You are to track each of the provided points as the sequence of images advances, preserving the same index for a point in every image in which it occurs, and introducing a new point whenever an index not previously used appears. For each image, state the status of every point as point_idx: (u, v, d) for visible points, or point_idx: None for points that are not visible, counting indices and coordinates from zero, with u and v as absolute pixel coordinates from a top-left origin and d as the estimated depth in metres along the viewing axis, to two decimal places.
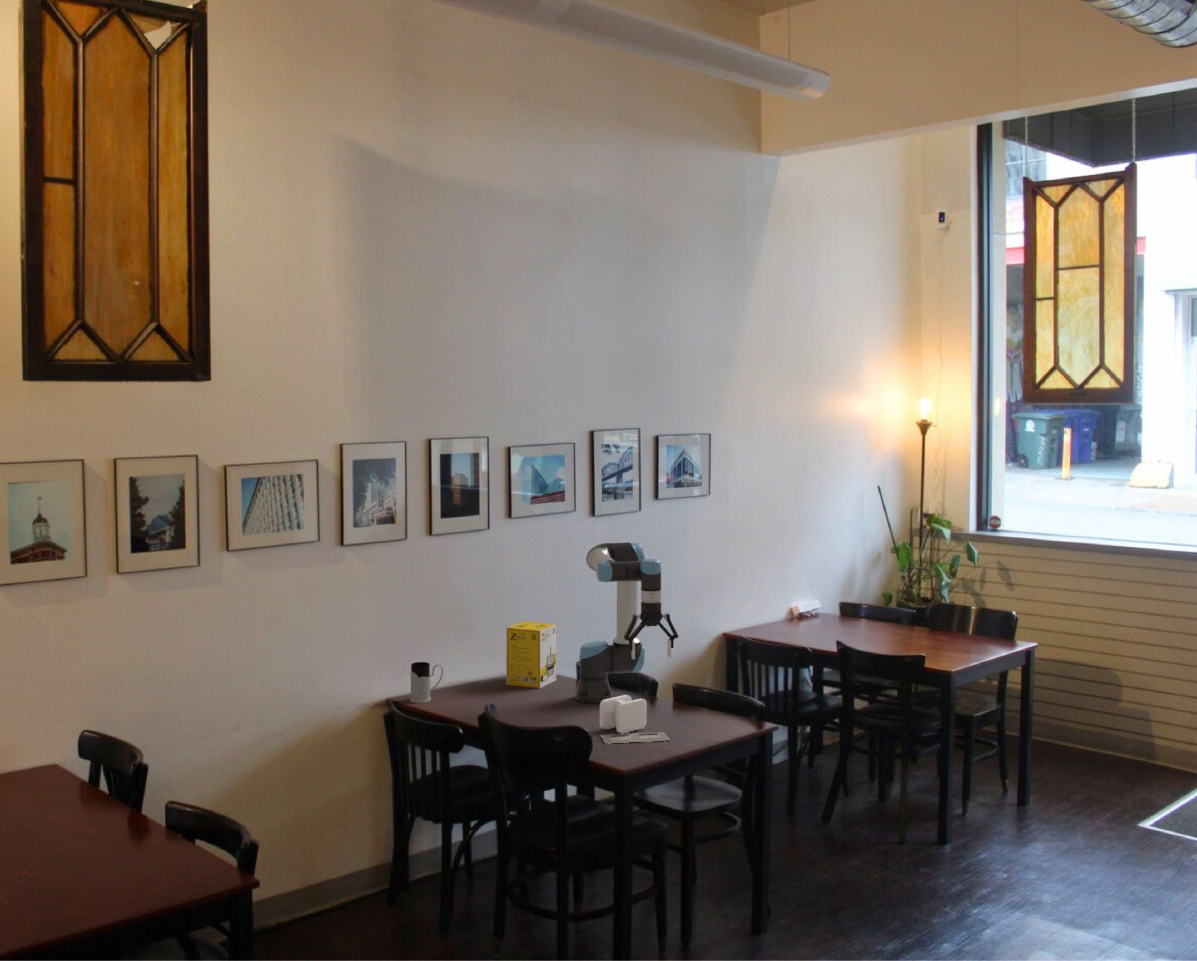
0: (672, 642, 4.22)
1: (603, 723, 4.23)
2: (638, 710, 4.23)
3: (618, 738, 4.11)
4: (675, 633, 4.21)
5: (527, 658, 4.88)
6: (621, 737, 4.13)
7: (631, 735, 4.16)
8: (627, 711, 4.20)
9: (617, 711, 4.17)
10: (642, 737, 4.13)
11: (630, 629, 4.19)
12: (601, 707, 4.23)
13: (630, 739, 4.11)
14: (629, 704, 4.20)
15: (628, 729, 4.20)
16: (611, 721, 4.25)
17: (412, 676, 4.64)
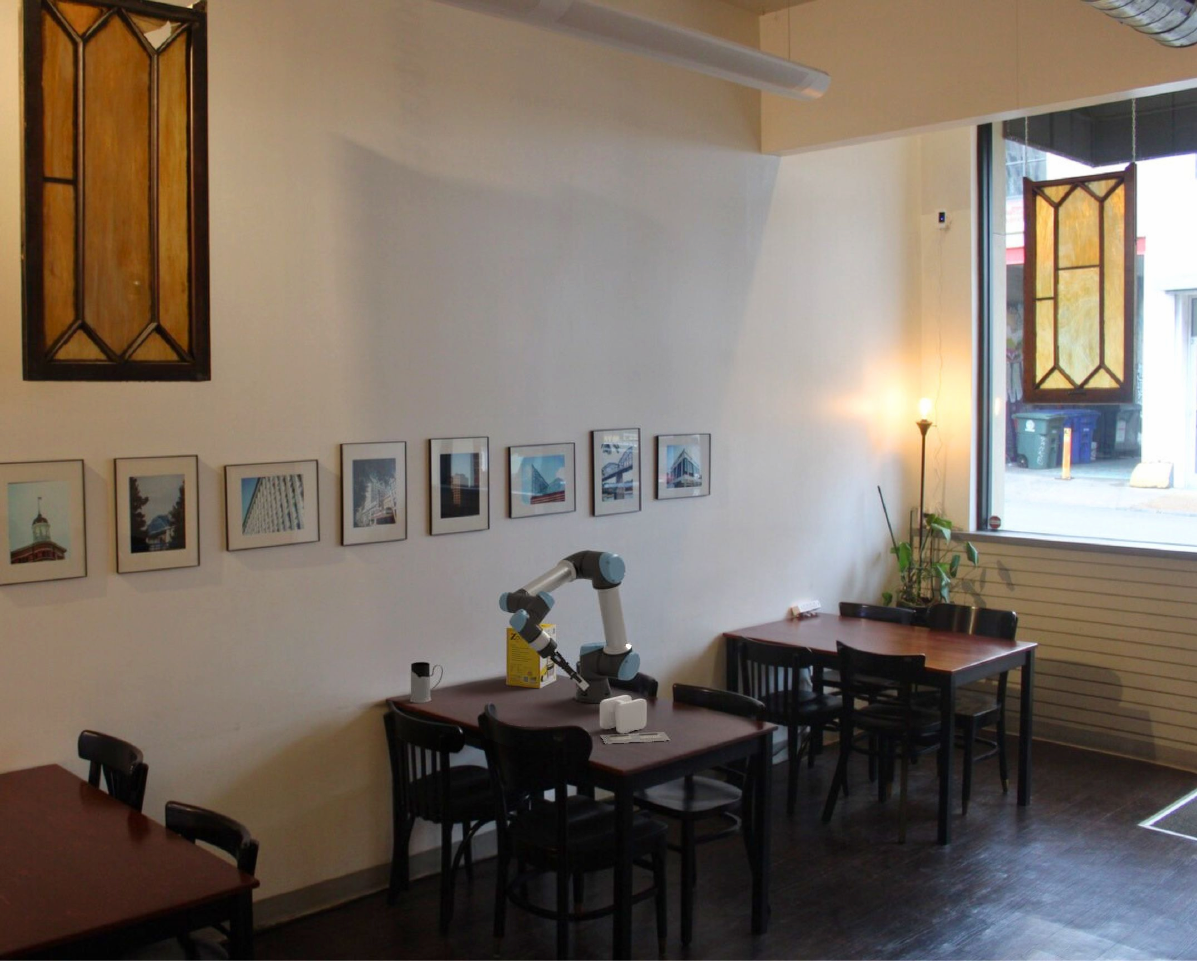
0: (575, 679, 4.12)
1: (603, 723, 4.23)
2: (638, 710, 4.23)
3: (618, 738, 4.11)
4: (568, 674, 4.10)
5: (527, 658, 4.88)
6: (621, 737, 4.13)
7: (631, 735, 4.16)
8: (627, 711, 4.20)
9: (617, 711, 4.17)
10: (642, 737, 4.13)
11: None
12: (601, 707, 4.23)
13: (630, 739, 4.11)
14: (629, 704, 4.20)
15: (628, 729, 4.20)
16: (611, 721, 4.25)
17: (412, 676, 4.64)
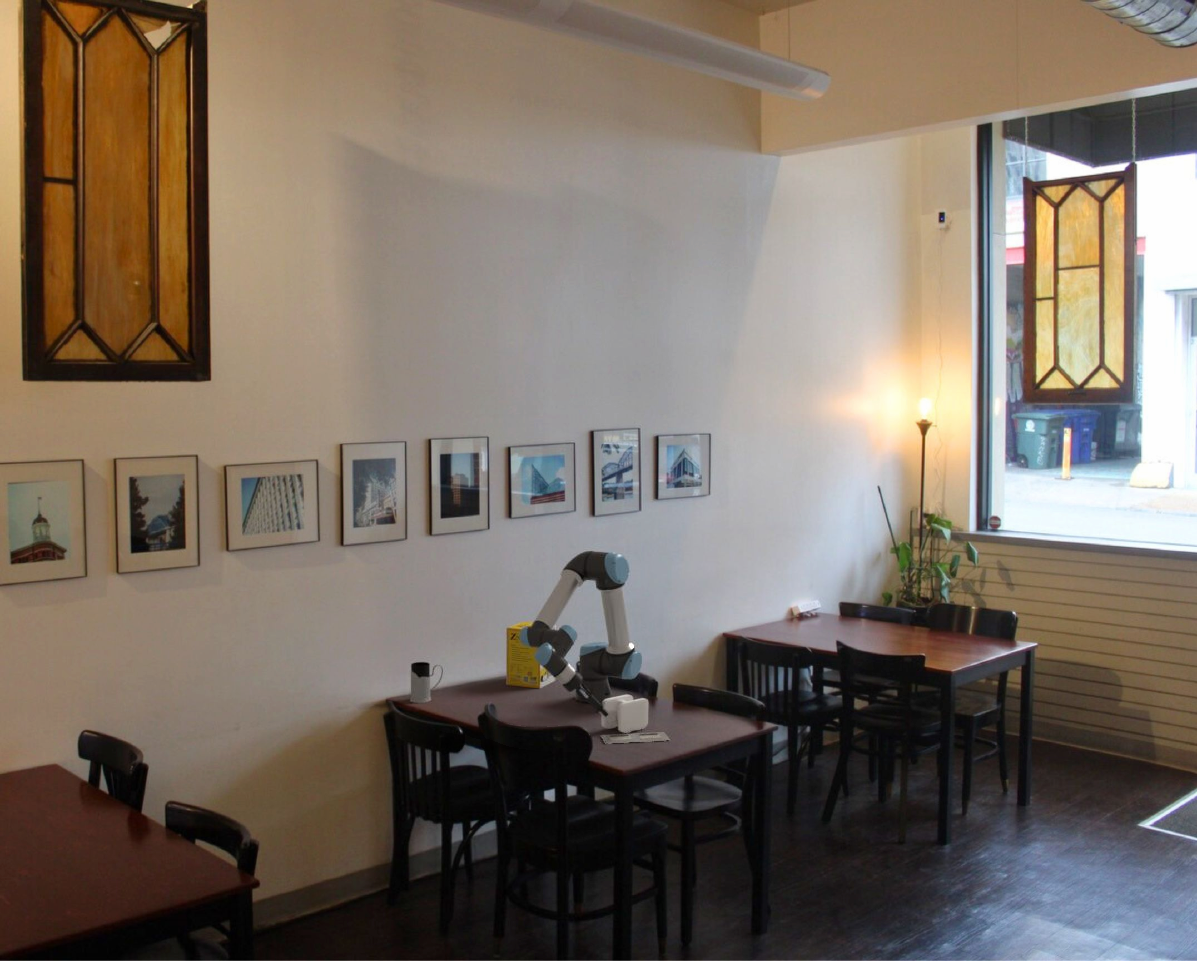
0: (601, 712, 4.21)
1: (605, 723, 4.23)
2: (640, 710, 4.23)
3: (618, 738, 4.11)
4: (595, 708, 4.19)
5: (527, 658, 4.88)
6: (621, 737, 4.13)
7: (631, 735, 4.16)
8: (629, 710, 4.20)
9: (619, 710, 4.18)
10: (642, 737, 4.13)
11: None
12: None
13: (630, 739, 4.11)
14: (631, 703, 4.20)
15: (630, 728, 4.20)
16: None
17: (412, 676, 4.64)
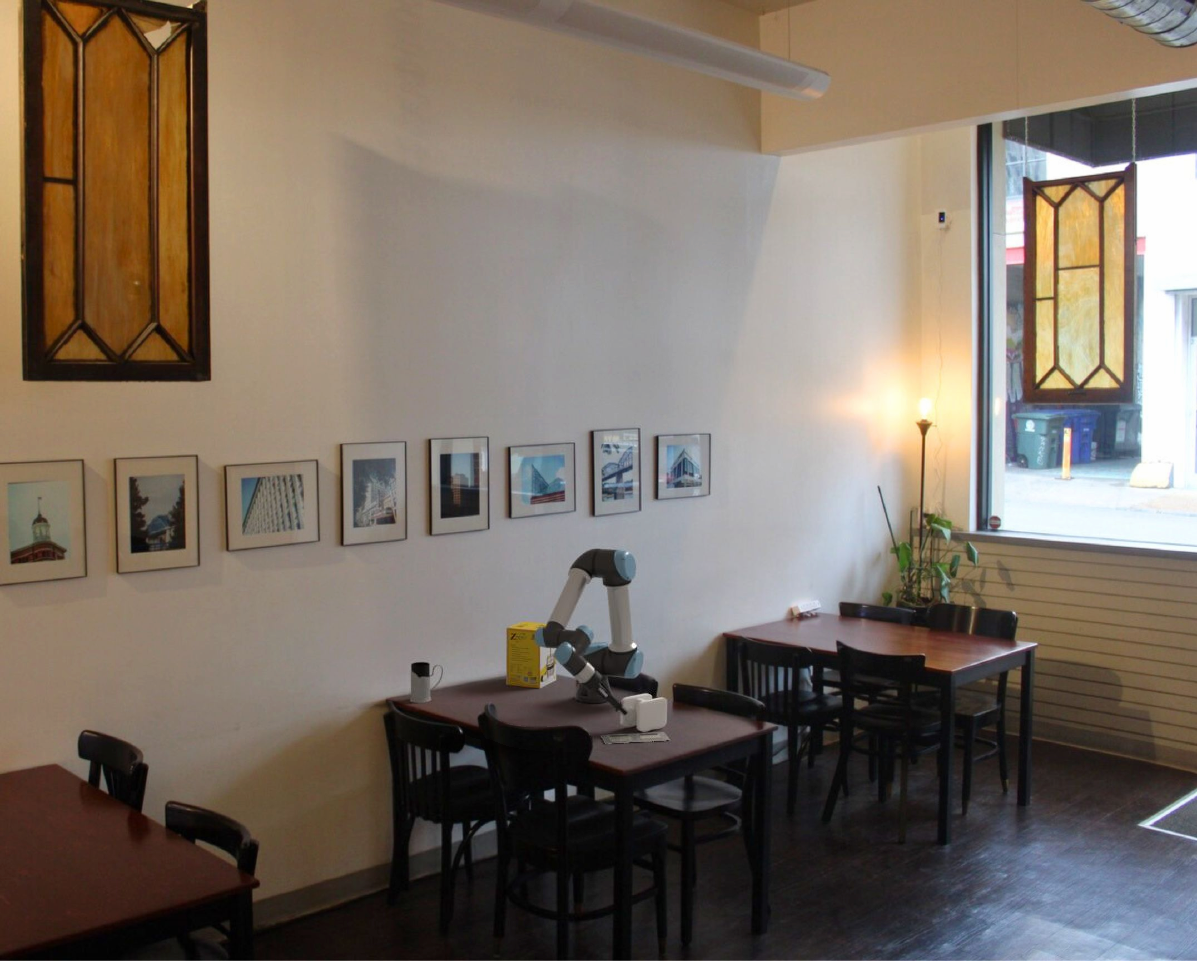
0: (621, 711, 4.23)
1: (624, 721, 4.25)
2: (658, 709, 4.25)
3: (618, 738, 4.11)
4: (614, 707, 4.20)
5: (527, 658, 4.88)
6: (621, 737, 4.13)
7: (631, 735, 4.16)
8: (648, 709, 4.21)
9: (638, 709, 4.19)
10: (642, 737, 4.13)
11: None
12: None
13: (630, 739, 4.11)
14: (650, 702, 4.22)
15: (648, 727, 4.22)
16: None
17: (412, 676, 4.64)
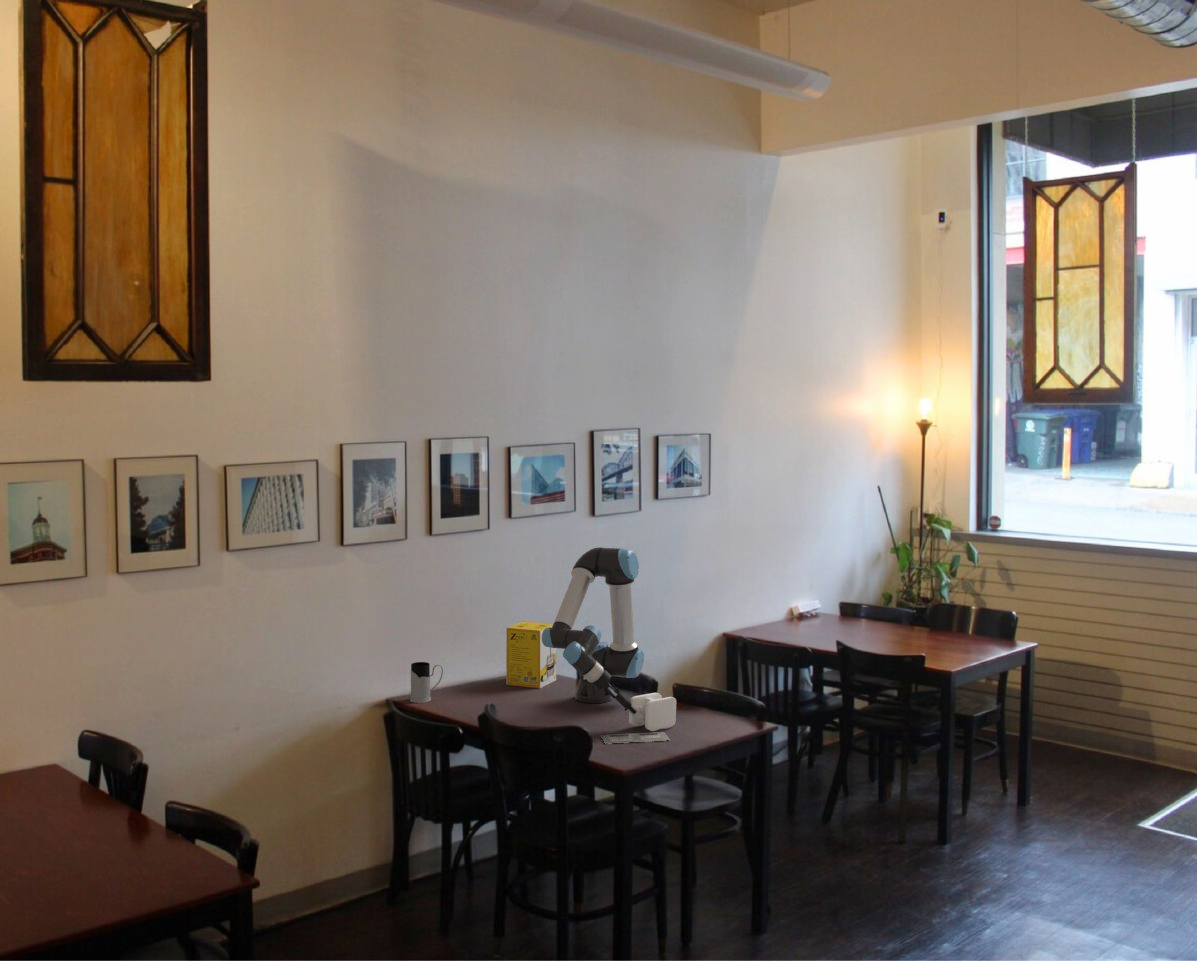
0: (630, 710, 4.24)
1: (632, 720, 4.26)
2: (667, 708, 4.25)
3: (618, 738, 4.11)
4: (623, 706, 4.22)
5: (527, 658, 4.88)
6: (621, 737, 4.13)
7: (631, 735, 4.16)
8: (657, 708, 4.22)
9: (646, 708, 4.20)
10: (642, 737, 4.13)
11: None
12: None
13: (630, 739, 4.11)
14: (658, 702, 4.23)
15: (657, 726, 4.23)
16: None
17: (412, 676, 4.64)
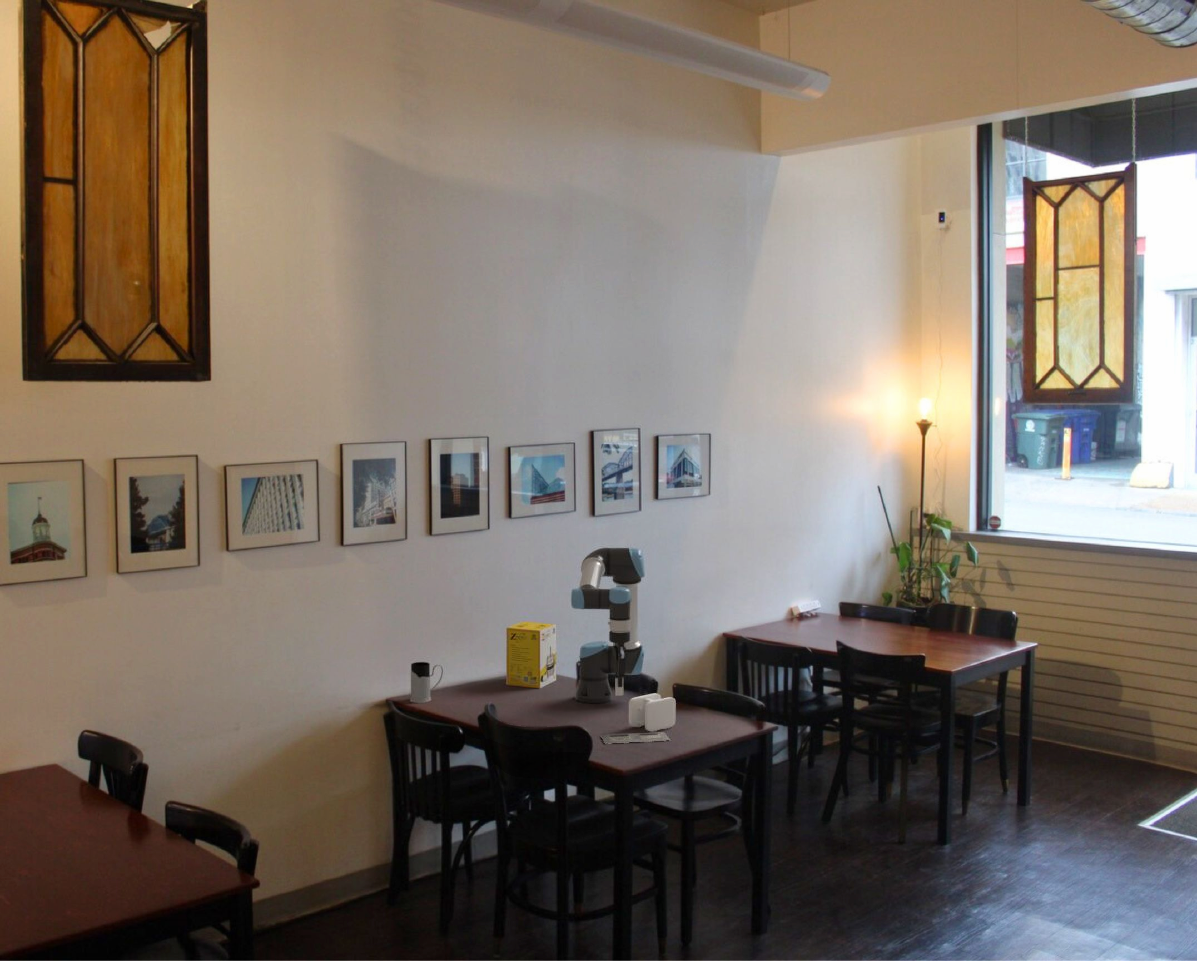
0: (618, 681, 4.10)
1: (632, 721, 4.26)
2: (667, 709, 4.25)
3: (618, 738, 4.11)
4: (618, 672, 4.07)
5: (527, 658, 4.88)
6: (621, 737, 4.13)
7: (631, 735, 4.16)
8: (656, 709, 4.22)
9: (646, 709, 4.20)
10: (642, 737, 4.13)
11: (614, 661, 4.15)
12: (630, 705, 4.26)
13: (630, 739, 4.11)
14: (658, 702, 4.23)
15: (657, 727, 4.23)
16: (640, 719, 4.28)
17: (412, 676, 4.64)
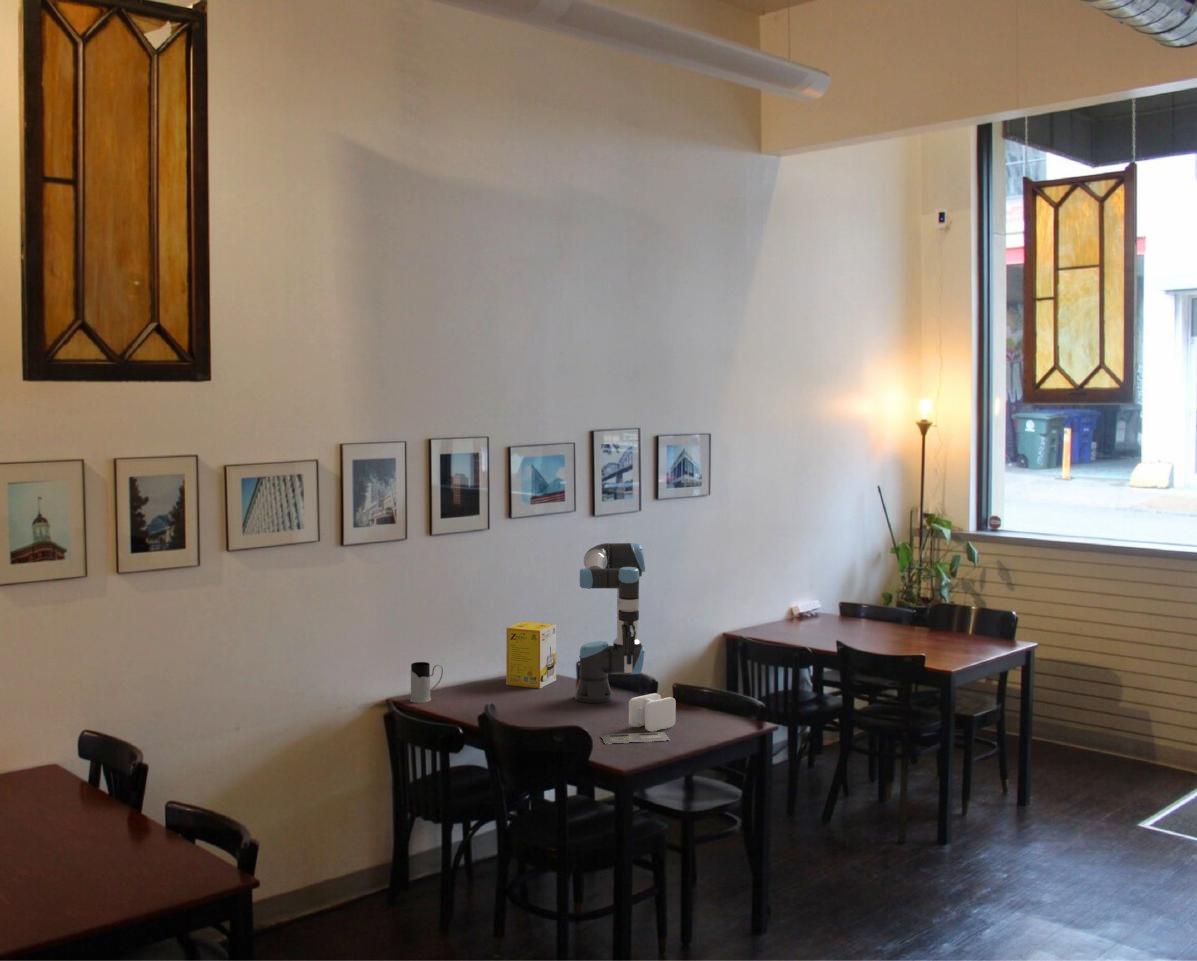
0: (627, 658, 4.18)
1: (632, 721, 4.26)
2: (667, 709, 4.25)
3: (618, 738, 4.11)
4: (627, 650, 4.16)
5: (527, 658, 4.88)
6: (621, 737, 4.13)
7: (631, 735, 4.16)
8: (656, 709, 4.22)
9: (646, 709, 4.20)
10: (642, 737, 4.13)
11: (622, 639, 4.23)
12: (630, 705, 4.26)
13: (630, 739, 4.11)
14: (658, 702, 4.23)
15: (657, 727, 4.23)
16: (640, 719, 4.28)
17: (412, 676, 4.64)
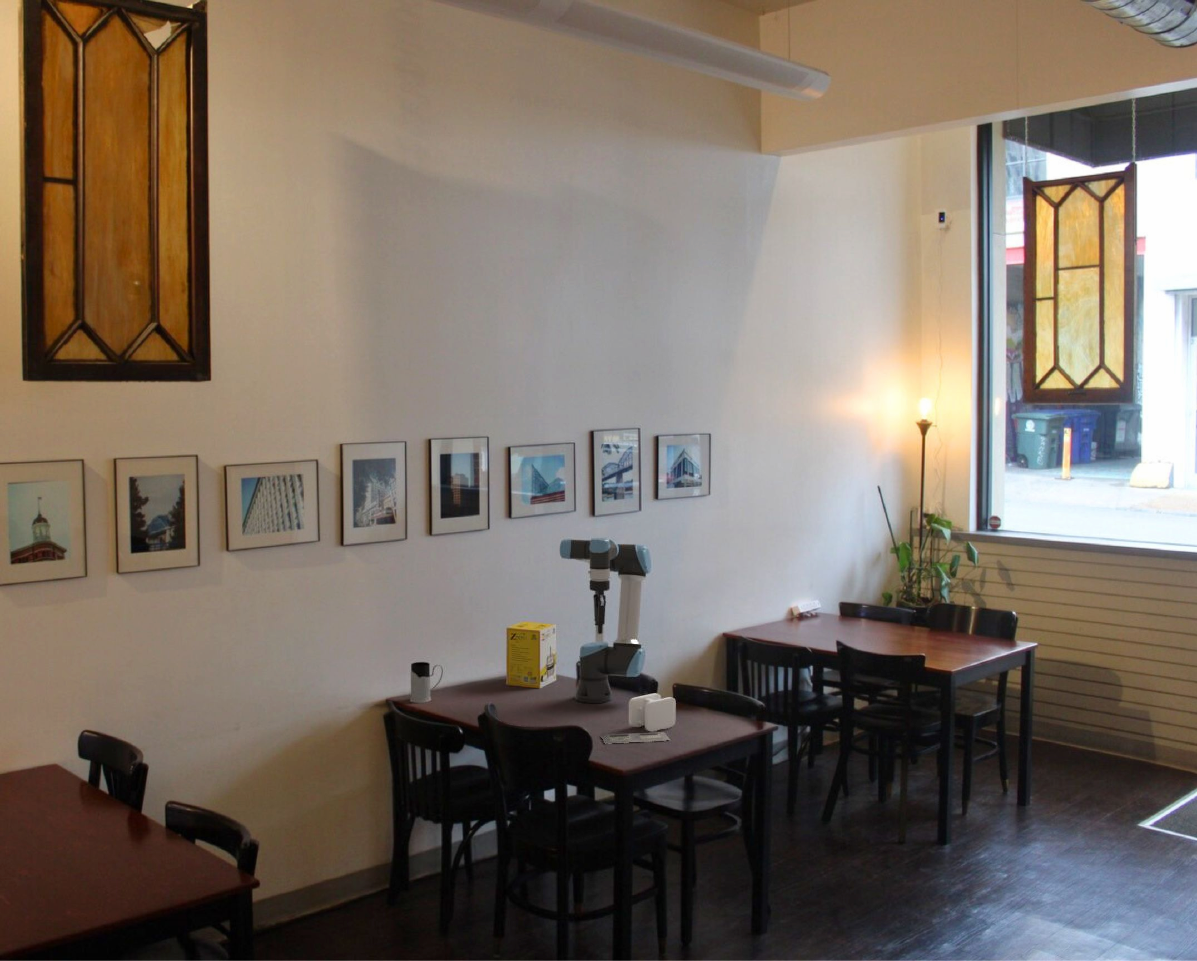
0: (598, 628, 4.26)
1: (632, 721, 4.26)
2: (667, 709, 4.25)
3: (618, 738, 4.11)
4: (598, 619, 4.23)
5: (527, 658, 4.88)
6: (621, 737, 4.13)
7: (631, 735, 4.16)
8: (656, 709, 4.22)
9: (646, 709, 4.20)
10: (642, 737, 4.13)
11: (594, 610, 4.30)
12: (630, 705, 4.26)
13: (630, 739, 4.11)
14: (658, 702, 4.23)
15: (657, 727, 4.23)
16: (640, 719, 4.28)
17: (412, 676, 4.64)
